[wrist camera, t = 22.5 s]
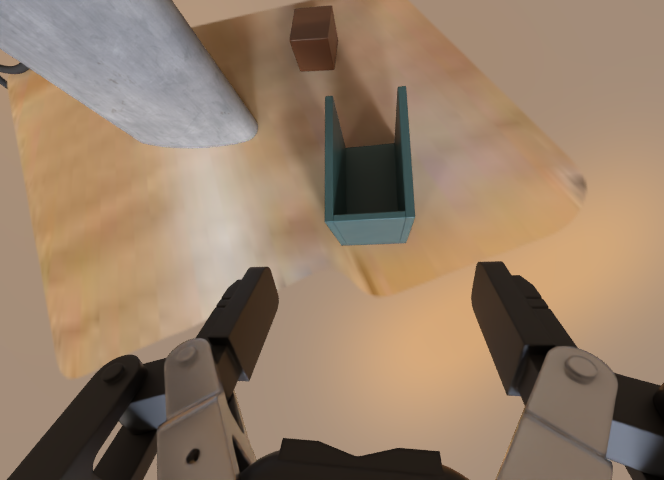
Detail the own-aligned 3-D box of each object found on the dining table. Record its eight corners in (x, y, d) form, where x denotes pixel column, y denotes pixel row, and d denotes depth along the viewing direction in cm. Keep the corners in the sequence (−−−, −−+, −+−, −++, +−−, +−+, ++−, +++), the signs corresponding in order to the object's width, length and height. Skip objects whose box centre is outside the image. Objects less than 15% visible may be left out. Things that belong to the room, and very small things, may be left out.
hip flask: (259, 116, 32) (72, -167, 13) (254, 148, 31) (45, -101, 12) (140, 120, 35) (-156, -103, 16) (132, 150, 34) (-190, -47, 15)
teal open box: (406, 243, 26) (415, 217, 18) (341, 245, 27) (324, 222, 19) (400, 145, 28) (406, 85, 20) (340, 150, 29) (325, 96, 22)
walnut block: (327, 37, 28) (332, 4, 28) (289, 40, 28) (294, 8, 29) (334, 70, 32) (338, 40, 32) (300, 71, 32) (304, 42, 33)
